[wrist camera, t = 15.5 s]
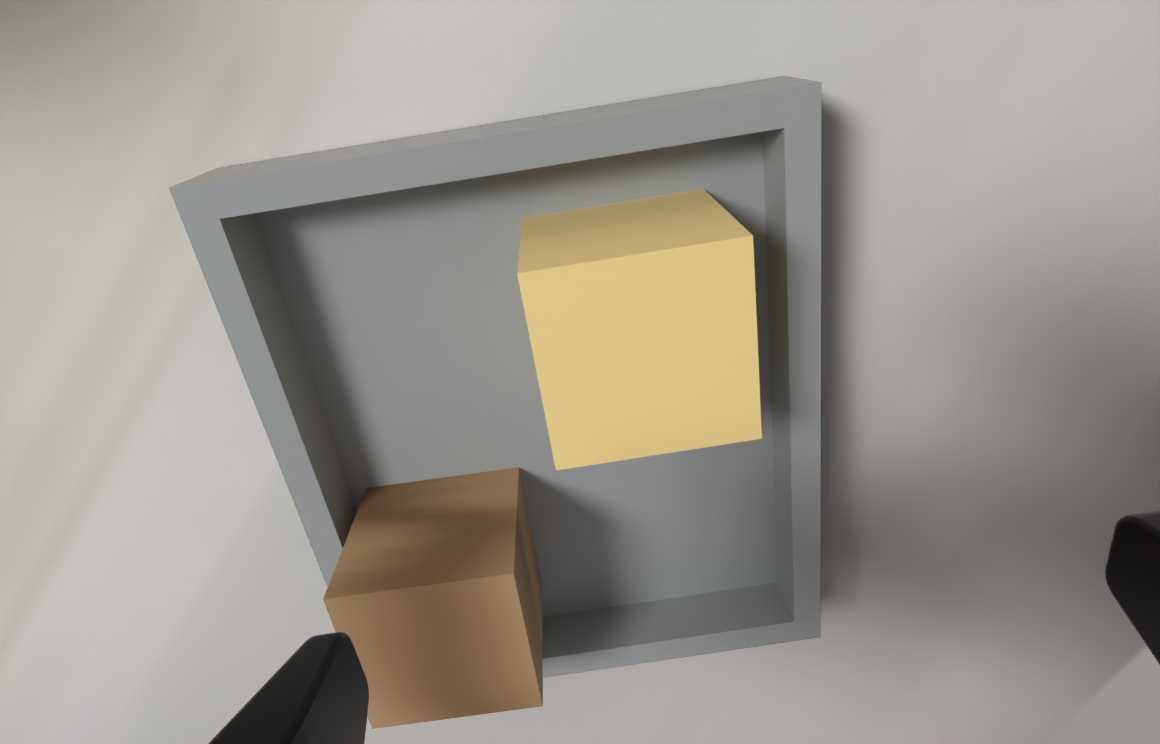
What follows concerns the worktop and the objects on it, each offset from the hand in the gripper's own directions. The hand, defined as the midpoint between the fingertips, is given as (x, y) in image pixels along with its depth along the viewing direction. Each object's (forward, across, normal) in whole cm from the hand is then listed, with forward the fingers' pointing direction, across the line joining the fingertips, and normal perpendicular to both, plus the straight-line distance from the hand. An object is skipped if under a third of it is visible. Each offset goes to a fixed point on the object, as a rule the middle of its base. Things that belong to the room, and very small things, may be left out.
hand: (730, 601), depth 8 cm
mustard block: (+11, 0, 0) cm, 11 cm away
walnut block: (+11, +6, +7) cm, 15 cm away
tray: (+12, +2, +4) cm, 13 cm away
